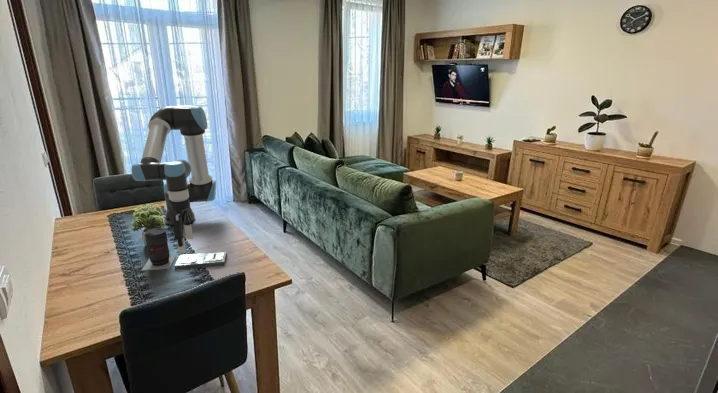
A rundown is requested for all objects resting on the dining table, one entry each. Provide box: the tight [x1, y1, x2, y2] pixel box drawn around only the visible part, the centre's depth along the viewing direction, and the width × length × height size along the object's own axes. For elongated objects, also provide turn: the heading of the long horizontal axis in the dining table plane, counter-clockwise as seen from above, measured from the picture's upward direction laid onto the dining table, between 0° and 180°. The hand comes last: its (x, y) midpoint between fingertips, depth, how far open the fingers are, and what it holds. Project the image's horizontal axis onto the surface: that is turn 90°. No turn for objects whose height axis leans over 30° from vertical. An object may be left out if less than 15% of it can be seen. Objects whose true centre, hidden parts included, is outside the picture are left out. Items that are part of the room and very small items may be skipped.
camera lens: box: [144, 227, 170, 266], centre depth 160 cm, size 8×8×15 cm
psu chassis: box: [173, 250, 228, 271], centre depth 164 cm, size 10×20×2 cm, turn 102°
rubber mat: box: [141, 255, 177, 272], centre depth 163 cm, size 11×11×1 cm
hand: (186, 245), depth 161 cm, fingers open, 13 cm apart
